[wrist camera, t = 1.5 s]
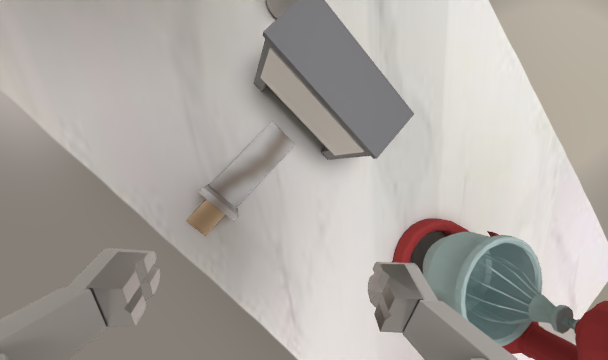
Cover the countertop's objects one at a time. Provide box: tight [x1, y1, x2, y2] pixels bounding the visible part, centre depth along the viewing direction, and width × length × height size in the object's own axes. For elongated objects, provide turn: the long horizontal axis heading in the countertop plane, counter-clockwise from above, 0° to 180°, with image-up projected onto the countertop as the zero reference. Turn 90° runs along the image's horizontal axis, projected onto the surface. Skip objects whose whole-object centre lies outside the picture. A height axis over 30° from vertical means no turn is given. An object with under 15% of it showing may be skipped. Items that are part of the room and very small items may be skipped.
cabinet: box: [254, 0, 414, 159], centre depth 39 cm, size 21×9×17 cm, turn 47°
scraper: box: [186, 121, 295, 236], centre depth 40 cm, size 7×21×8 cm, turn 137°
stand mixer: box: [393, 219, 608, 360], centre depth 39 cm, size 24×32×40 cm
